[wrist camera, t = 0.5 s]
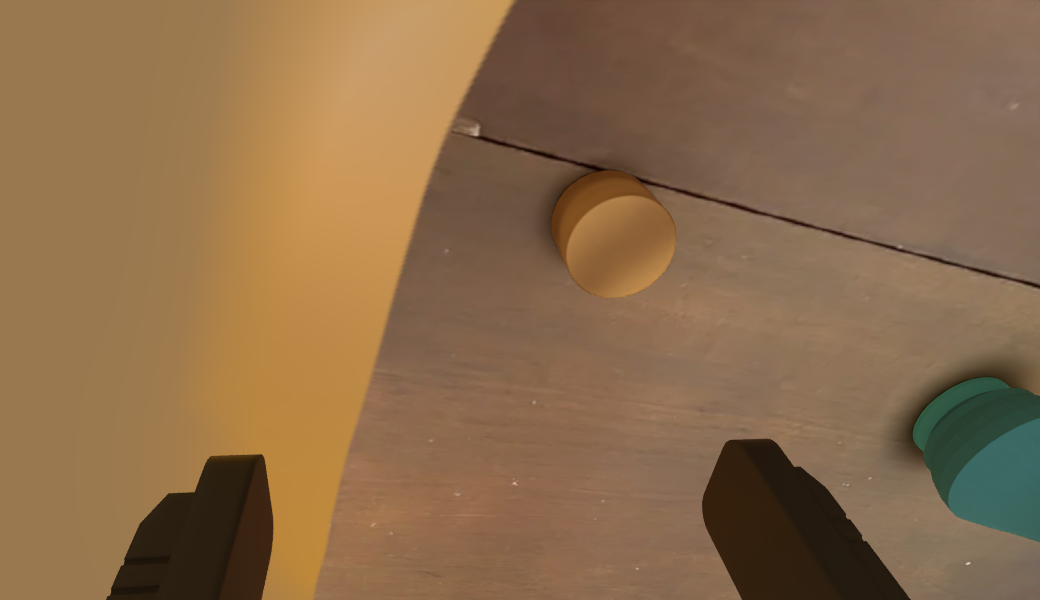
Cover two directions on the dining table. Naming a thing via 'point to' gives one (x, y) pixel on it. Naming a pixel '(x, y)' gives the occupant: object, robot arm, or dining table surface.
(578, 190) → the tan short cylinder
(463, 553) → the dining table surface
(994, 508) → the perfume bottle
